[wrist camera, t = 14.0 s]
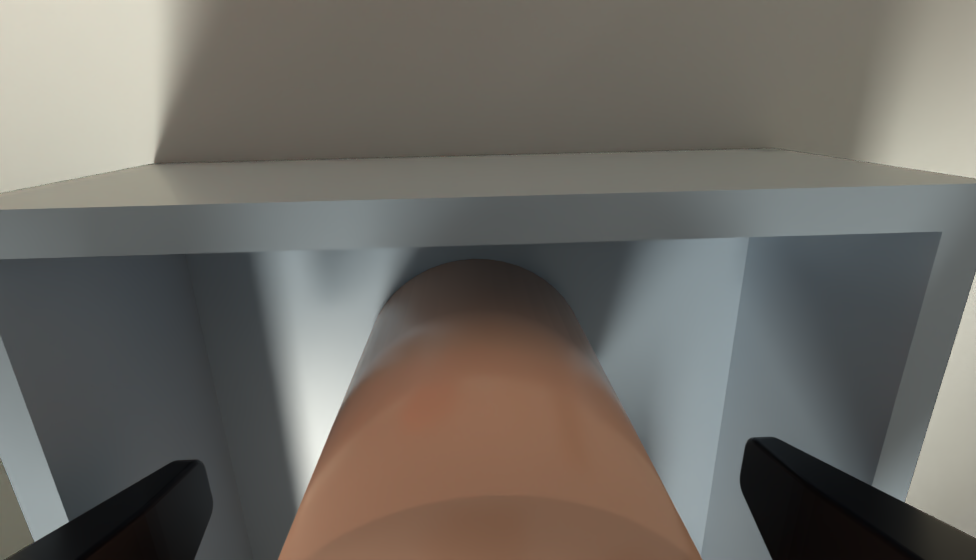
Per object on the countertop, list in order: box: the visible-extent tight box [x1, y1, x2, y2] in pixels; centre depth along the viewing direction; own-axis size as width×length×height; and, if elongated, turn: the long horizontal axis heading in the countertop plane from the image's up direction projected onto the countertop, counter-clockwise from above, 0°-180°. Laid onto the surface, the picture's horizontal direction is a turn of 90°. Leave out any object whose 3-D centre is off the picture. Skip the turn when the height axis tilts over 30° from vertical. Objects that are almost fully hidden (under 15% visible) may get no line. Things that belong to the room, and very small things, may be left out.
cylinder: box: [278, 259, 702, 560], centre depth 8 cm, size 5×5×7 cm
